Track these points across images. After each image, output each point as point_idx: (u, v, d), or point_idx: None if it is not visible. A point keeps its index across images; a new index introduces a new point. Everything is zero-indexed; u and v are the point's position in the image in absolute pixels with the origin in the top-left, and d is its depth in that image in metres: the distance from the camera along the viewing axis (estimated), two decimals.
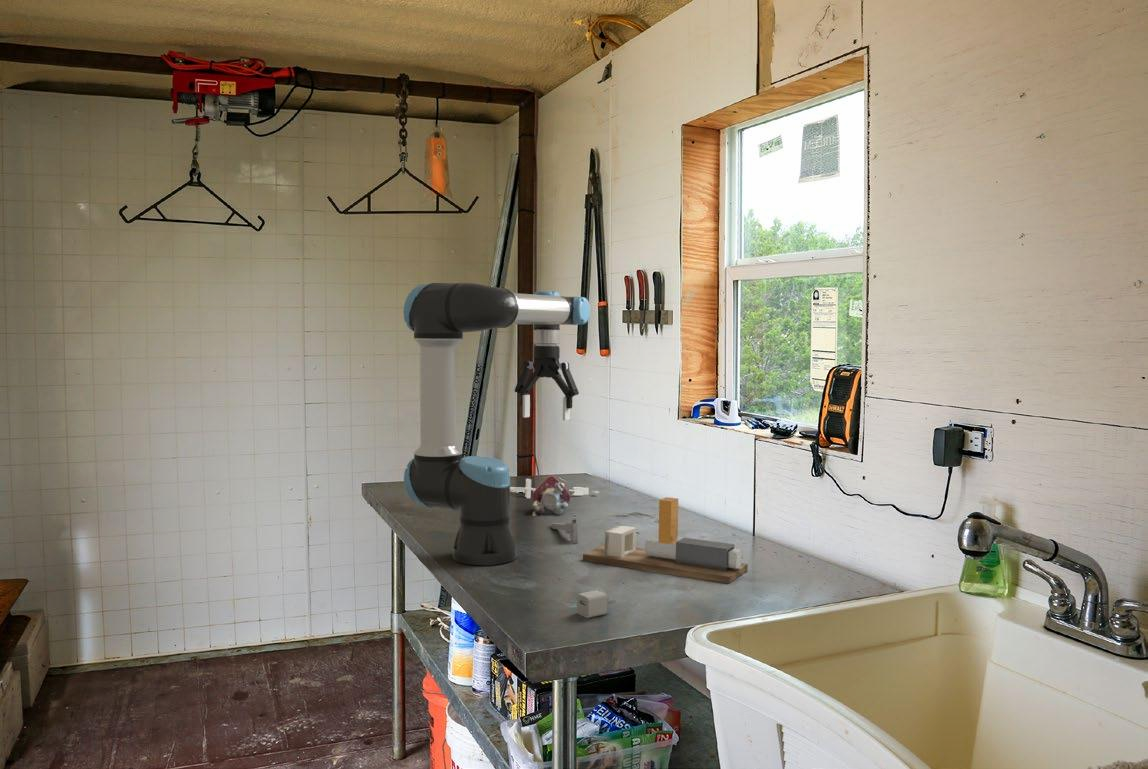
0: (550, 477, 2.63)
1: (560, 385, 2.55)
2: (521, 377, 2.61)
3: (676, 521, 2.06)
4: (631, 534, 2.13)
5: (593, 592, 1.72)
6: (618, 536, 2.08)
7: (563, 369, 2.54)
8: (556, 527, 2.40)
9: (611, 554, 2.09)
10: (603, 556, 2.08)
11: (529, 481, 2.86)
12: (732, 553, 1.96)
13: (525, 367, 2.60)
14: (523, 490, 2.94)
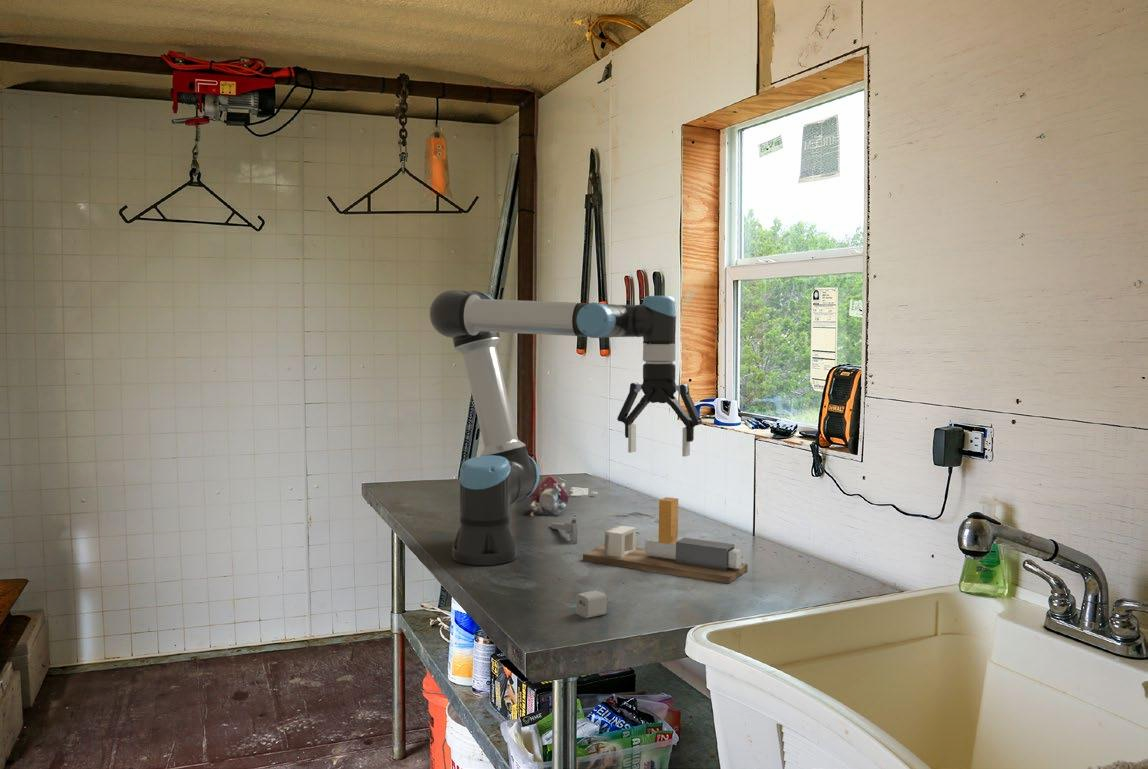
0: (548, 477, 2.62)
1: (678, 413, 2.04)
2: (626, 403, 2.11)
3: (676, 521, 2.06)
4: (631, 534, 2.13)
5: (592, 592, 1.72)
6: (618, 536, 2.08)
7: (682, 393, 2.04)
8: (556, 527, 2.40)
9: (611, 554, 2.09)
10: (603, 556, 2.08)
11: None
12: (732, 553, 1.96)
13: (631, 390, 2.10)
14: None
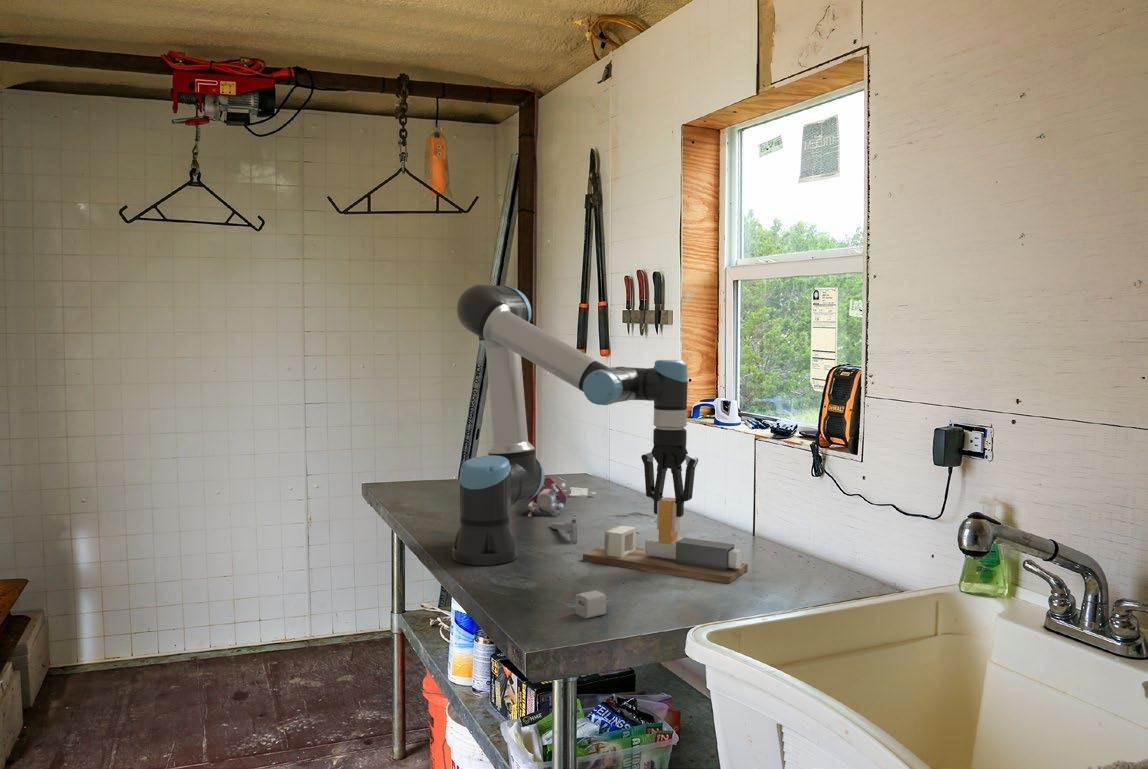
0: (546, 478, 2.61)
1: (676, 485, 2.02)
2: (646, 476, 2.06)
3: None
4: (631, 534, 2.13)
5: (592, 592, 1.72)
6: (618, 536, 2.08)
7: (689, 466, 2.01)
8: (556, 527, 2.40)
9: (611, 554, 2.09)
10: (603, 556, 2.08)
11: None
12: (732, 553, 1.96)
13: (645, 462, 2.06)
14: None
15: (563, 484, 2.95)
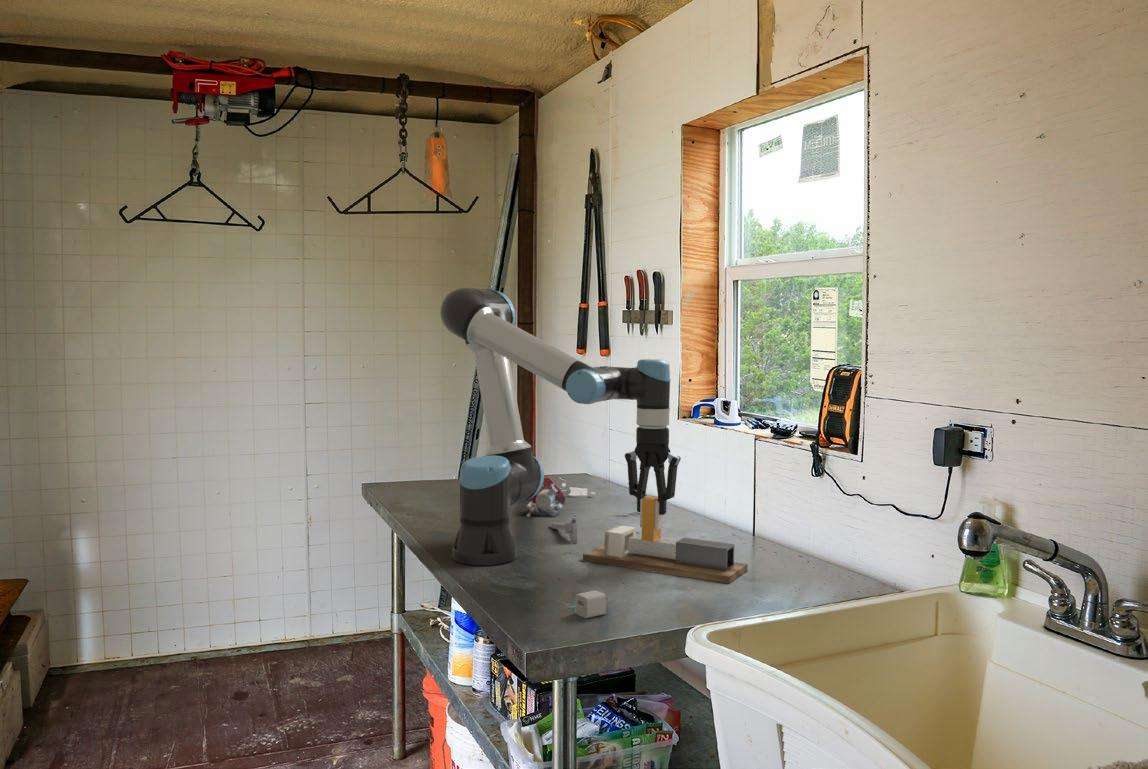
0: (545, 478, 2.61)
1: (658, 483, 2.05)
2: (629, 474, 2.08)
3: None
4: (631, 534, 2.13)
5: (592, 592, 1.72)
6: (618, 536, 2.08)
7: (671, 465, 2.03)
8: (556, 527, 2.40)
9: (611, 554, 2.09)
10: (603, 556, 2.08)
11: None
12: None
13: (628, 460, 2.08)
14: None
15: (563, 484, 2.95)
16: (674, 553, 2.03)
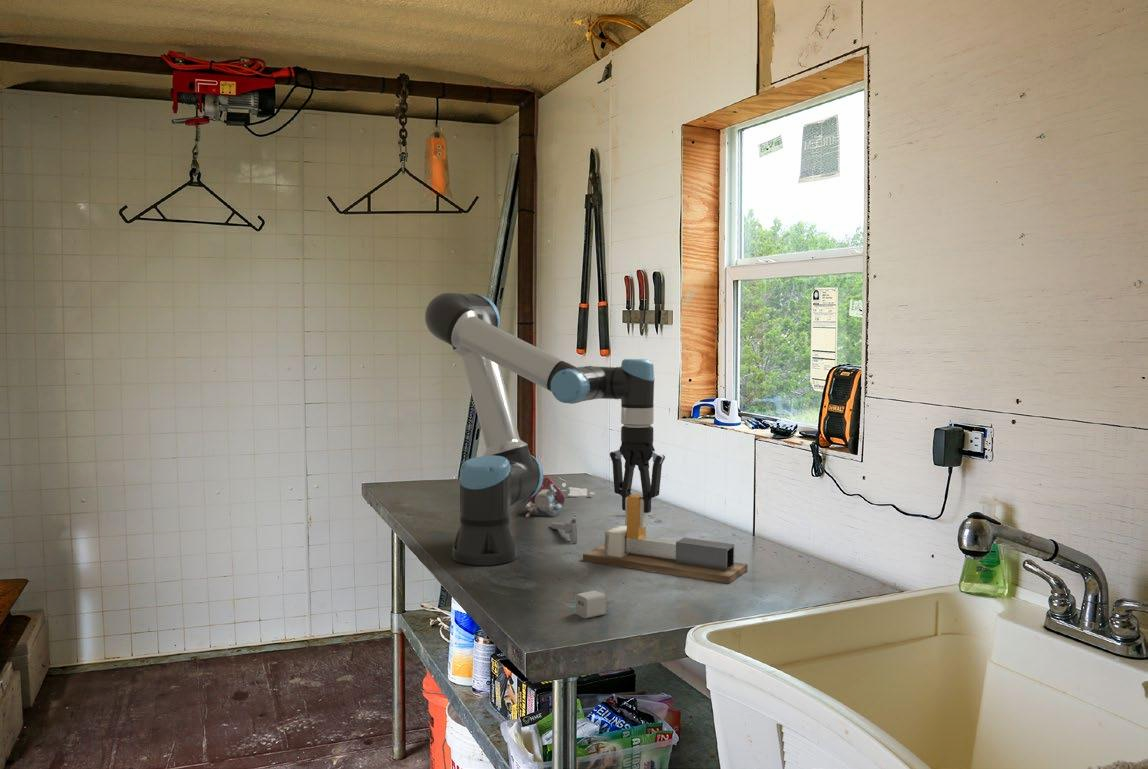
0: (545, 478, 2.61)
1: (643, 481, 2.06)
2: (615, 473, 2.10)
3: None
4: None
5: (591, 592, 1.72)
6: (618, 536, 2.08)
7: (655, 463, 2.05)
8: (556, 527, 2.40)
9: (611, 554, 2.09)
10: (603, 556, 2.08)
11: None
12: None
13: (613, 459, 2.10)
14: None
15: (563, 484, 2.95)
16: (658, 551, 2.05)
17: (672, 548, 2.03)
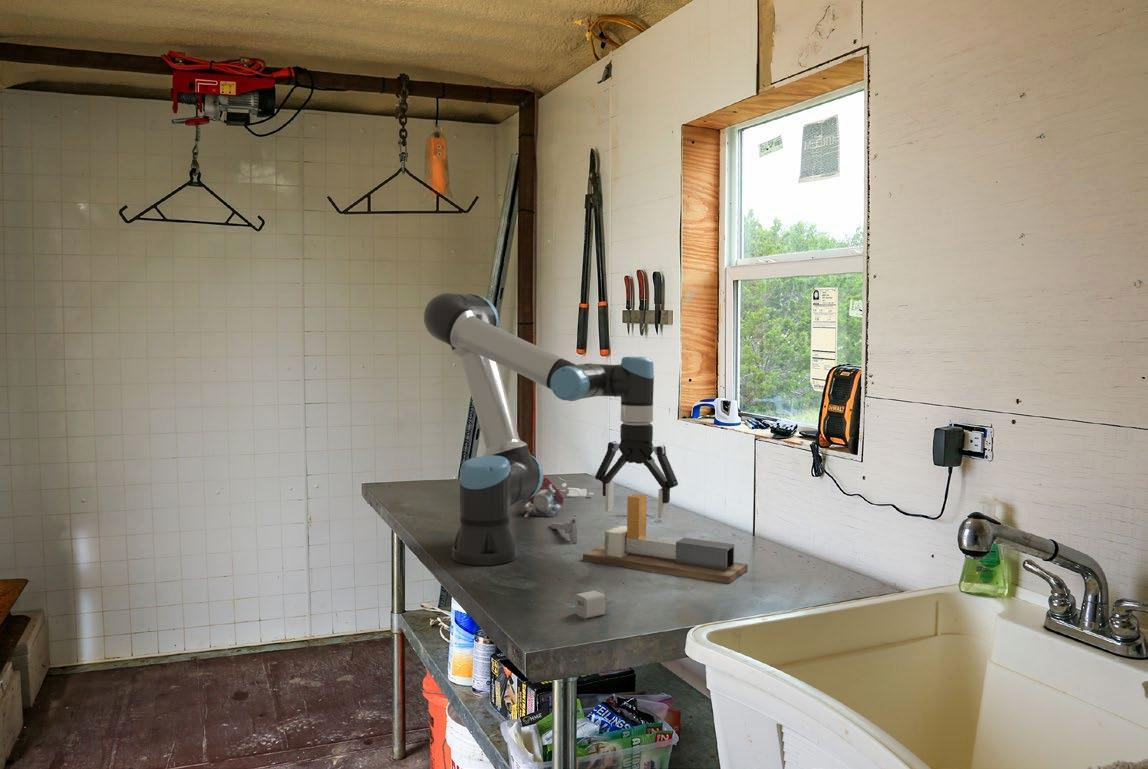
0: (544, 478, 2.60)
1: (655, 474, 2.05)
2: (604, 461, 2.11)
3: (644, 517, 2.09)
4: None
5: (591, 592, 1.71)
6: (618, 536, 2.08)
7: (659, 454, 2.04)
8: (555, 527, 2.40)
9: (611, 554, 2.09)
10: (603, 556, 2.08)
11: None
12: None
13: (609, 449, 2.10)
14: None
15: (563, 484, 2.95)
16: (659, 551, 2.05)
17: (673, 548, 2.03)
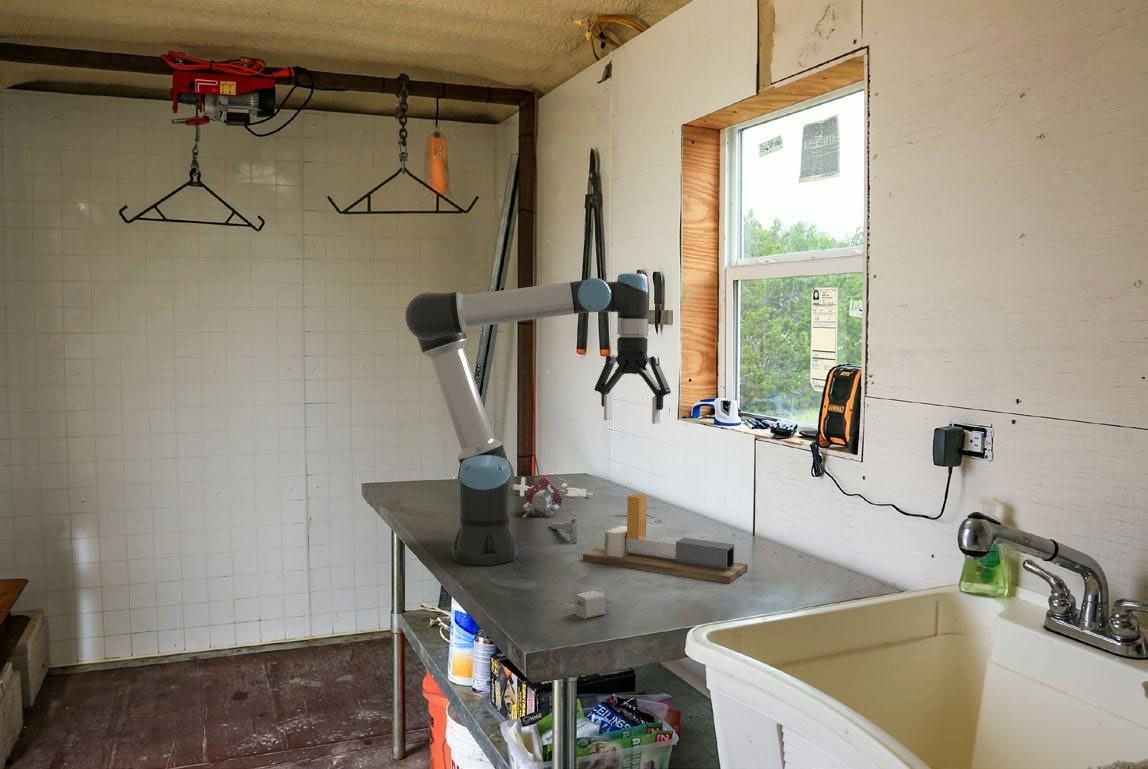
0: (542, 479, 2.60)
1: (649, 383, 2.19)
2: (602, 374, 2.26)
3: (644, 517, 2.09)
4: None
5: (591, 592, 1.71)
6: (618, 536, 2.08)
7: (652, 364, 2.18)
8: (555, 527, 2.40)
9: (611, 554, 2.09)
10: (603, 556, 2.08)
11: (523, 479, 2.89)
12: None
13: (607, 362, 2.25)
14: (525, 488, 2.98)
15: (563, 484, 2.95)
16: (659, 551, 2.05)
17: (673, 548, 2.03)
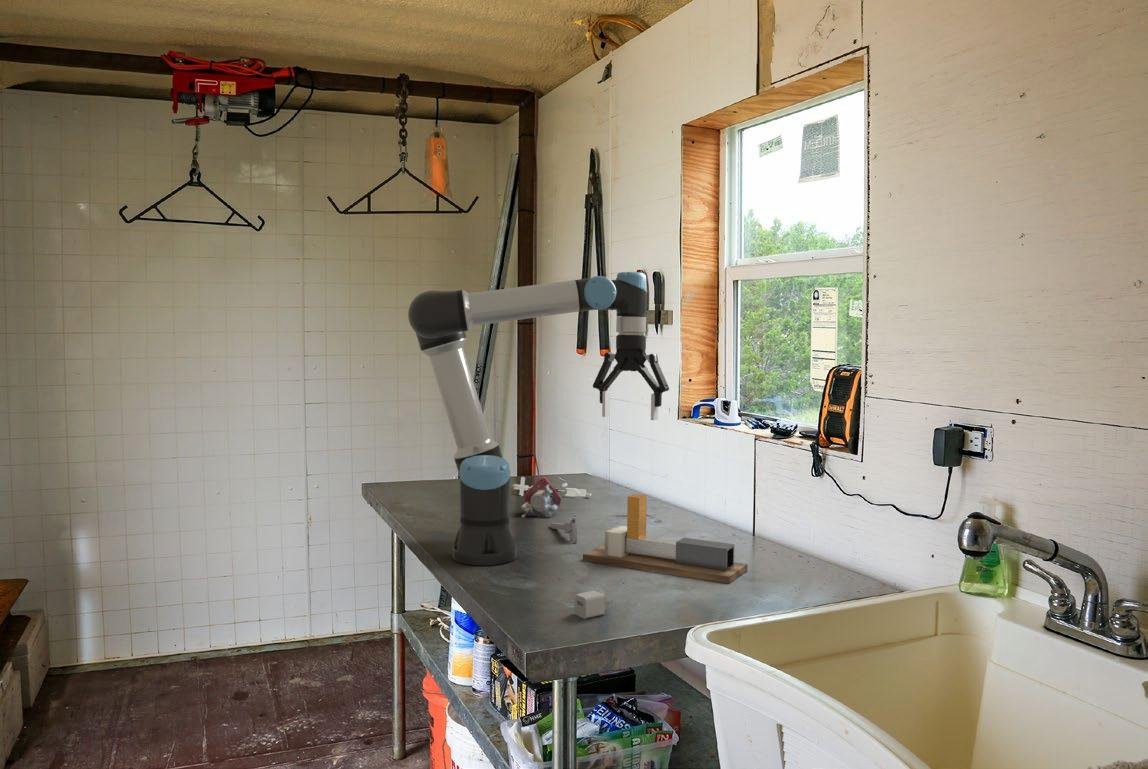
0: (541, 479, 2.60)
1: (648, 380, 2.22)
2: (601, 371, 2.29)
3: (644, 517, 2.09)
4: None
5: (590, 592, 1.71)
6: (618, 536, 2.08)
7: (651, 361, 2.21)
8: (555, 527, 2.40)
9: (611, 554, 2.09)
10: (603, 556, 2.08)
11: (523, 479, 2.89)
12: None
13: (606, 359, 2.28)
14: (526, 488, 2.98)
15: (563, 484, 2.95)
16: (659, 551, 2.05)
17: (673, 548, 2.03)
